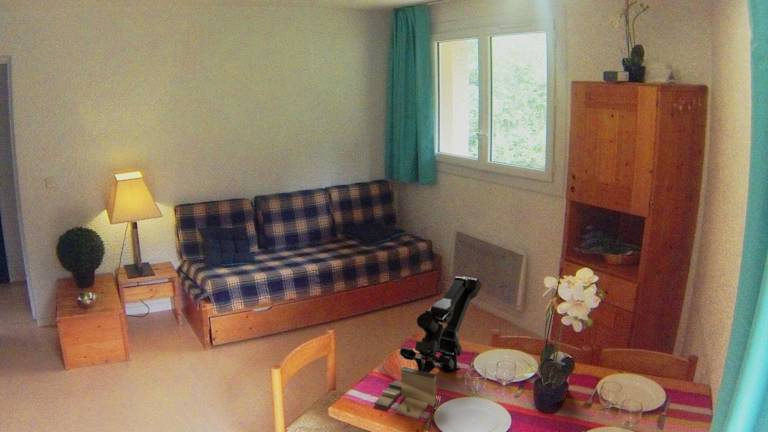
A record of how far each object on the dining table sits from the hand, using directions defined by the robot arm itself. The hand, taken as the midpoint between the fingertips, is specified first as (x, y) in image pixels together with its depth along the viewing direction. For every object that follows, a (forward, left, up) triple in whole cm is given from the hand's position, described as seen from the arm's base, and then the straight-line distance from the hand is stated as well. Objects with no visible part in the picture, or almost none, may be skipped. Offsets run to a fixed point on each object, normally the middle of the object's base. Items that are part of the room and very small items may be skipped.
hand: (419, 381), depth 209 cm
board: (-7, -8, -7) cm, 12 cm away
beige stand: (+3, -5, -7) cm, 9 cm away
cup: (+19, +46, -7) cm, 50 cm away
